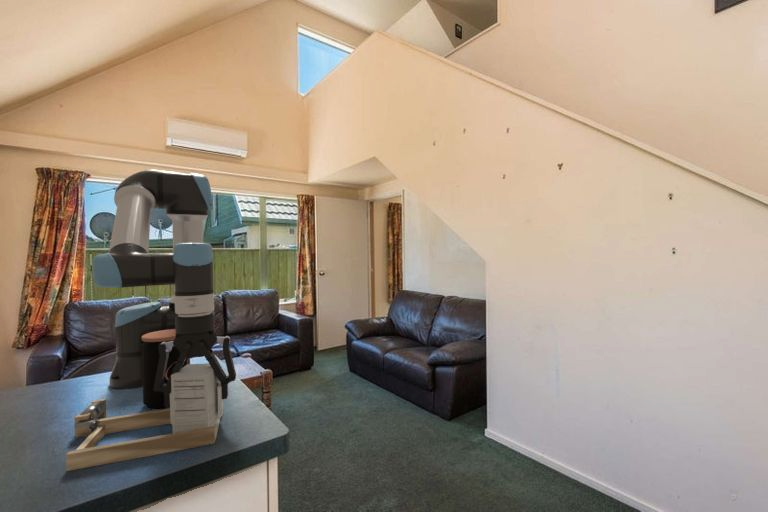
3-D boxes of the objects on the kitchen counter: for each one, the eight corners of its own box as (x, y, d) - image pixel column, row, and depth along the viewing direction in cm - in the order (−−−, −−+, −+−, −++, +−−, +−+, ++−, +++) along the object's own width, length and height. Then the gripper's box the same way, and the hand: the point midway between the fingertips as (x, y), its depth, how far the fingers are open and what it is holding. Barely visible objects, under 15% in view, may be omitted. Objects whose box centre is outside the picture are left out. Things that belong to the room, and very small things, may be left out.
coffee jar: (168, 412, 85) (166, 339, 85) (132, 409, 87) (130, 337, 87) (200, 394, 95) (198, 329, 95) (167, 392, 98) (165, 328, 97)
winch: (92, 419, 82) (91, 399, 82) (117, 415, 84) (116, 396, 84) (65, 445, 71) (65, 423, 71) (95, 440, 73) (94, 418, 72)
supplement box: (188, 418, 79) (187, 363, 79) (222, 417, 80) (220, 362, 80) (170, 435, 72) (169, 374, 72) (207, 433, 72) (206, 373, 72)
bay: (100, 432, 76) (100, 418, 76) (221, 413, 84) (221, 400, 84) (66, 471, 62) (66, 454, 62) (214, 443, 70) (214, 429, 70)
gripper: (131, 321, 68) (134, 435, 69) (246, 312, 76) (249, 416, 76) (143, 314, 76) (146, 418, 76) (247, 307, 83) (250, 402, 83)
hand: (197, 417), depth 76 cm, fingers closed on supplement box, 8 cm apart
